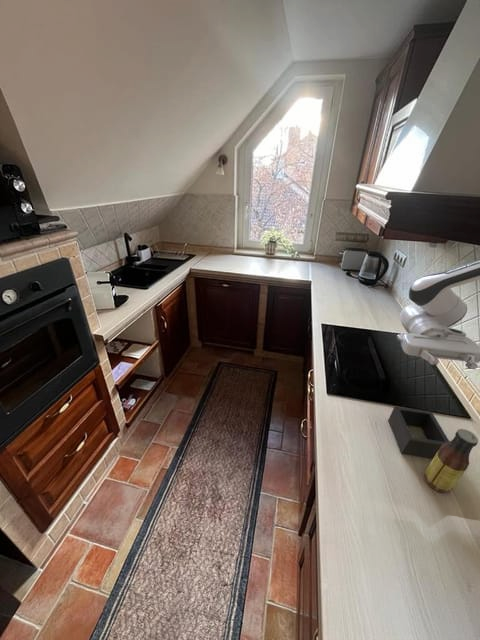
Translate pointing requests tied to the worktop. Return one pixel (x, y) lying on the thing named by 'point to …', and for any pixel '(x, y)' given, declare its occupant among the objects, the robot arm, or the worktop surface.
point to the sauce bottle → (450, 461)
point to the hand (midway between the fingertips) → (454, 365)
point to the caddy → (412, 444)
